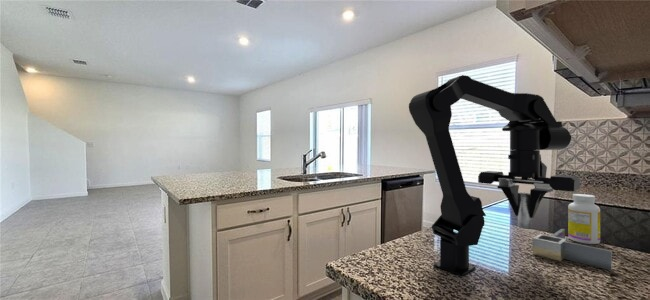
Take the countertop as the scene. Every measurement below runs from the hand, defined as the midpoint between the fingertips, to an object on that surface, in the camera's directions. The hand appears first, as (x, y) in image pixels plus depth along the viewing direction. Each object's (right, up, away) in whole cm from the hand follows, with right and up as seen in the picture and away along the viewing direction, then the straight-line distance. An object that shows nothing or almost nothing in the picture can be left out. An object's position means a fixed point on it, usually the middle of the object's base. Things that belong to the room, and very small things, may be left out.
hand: (524, 216), depth 66 cm
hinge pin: (0, -3, 0) cm, 3 cm away
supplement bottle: (+26, -10, +13) cm, 30 cm away
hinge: (+14, -10, +3) cm, 18 cm away
